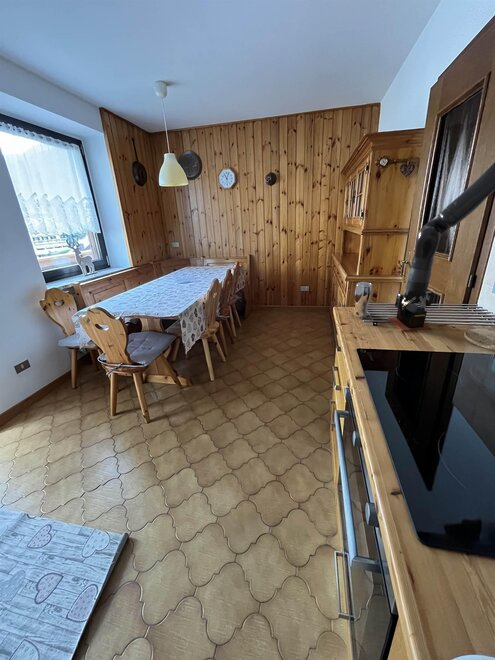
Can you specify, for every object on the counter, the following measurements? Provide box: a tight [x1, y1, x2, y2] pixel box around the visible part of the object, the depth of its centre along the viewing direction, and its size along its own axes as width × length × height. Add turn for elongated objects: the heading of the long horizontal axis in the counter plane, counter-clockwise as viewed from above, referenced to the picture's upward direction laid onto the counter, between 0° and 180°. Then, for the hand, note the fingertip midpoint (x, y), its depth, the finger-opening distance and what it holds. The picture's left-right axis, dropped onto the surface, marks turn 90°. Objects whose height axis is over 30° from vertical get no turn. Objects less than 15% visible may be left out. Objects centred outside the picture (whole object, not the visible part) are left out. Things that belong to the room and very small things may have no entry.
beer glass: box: [353, 281, 373, 319], centre depth 127 cm, size 7×7×15 cm
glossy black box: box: [395, 303, 428, 328], centre depth 118 cm, size 11×6×7 cm, turn 3°
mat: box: [387, 316, 432, 332], centre depth 121 cm, size 12×12×1 cm
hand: (410, 316), depth 119 cm, fingers open, 7 cm apart
